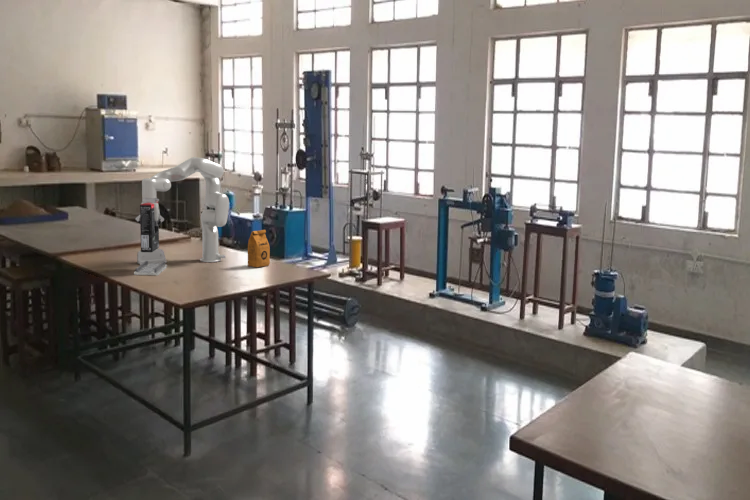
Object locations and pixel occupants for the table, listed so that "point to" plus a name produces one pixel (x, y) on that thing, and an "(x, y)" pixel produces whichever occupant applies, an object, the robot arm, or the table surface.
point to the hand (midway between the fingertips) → (150, 232)
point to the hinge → (151, 257)
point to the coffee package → (258, 249)
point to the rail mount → (150, 268)
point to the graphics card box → (148, 228)
